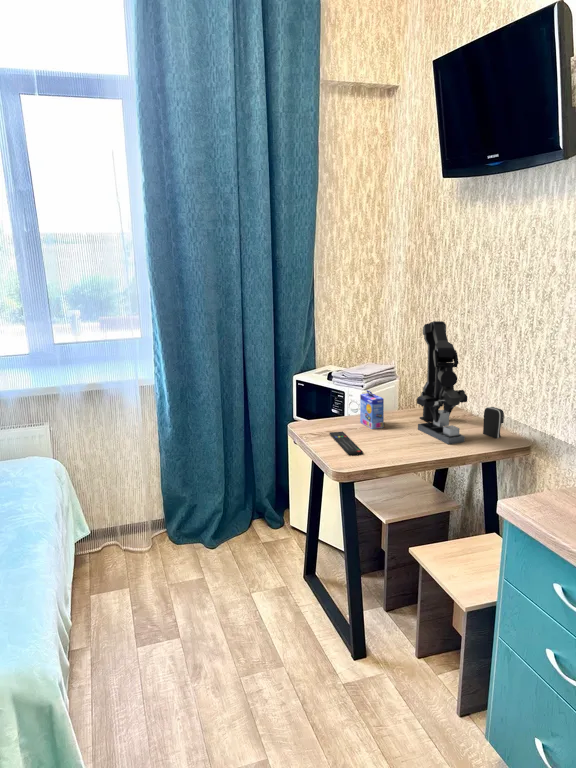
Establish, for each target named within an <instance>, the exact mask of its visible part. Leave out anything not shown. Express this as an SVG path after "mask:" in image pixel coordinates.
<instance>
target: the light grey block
mask: <svg viewBox="0 0 576 768" xmlns="http://www.w3.org/2000/svg"><path fill="white" fill-rule="evenodd" d="M459 434H460V427H457V426H456V425H454V424H453V425H452V424H451V425H449V426H443V435H444V436H446V437H448V438H453V437H459Z"/></svg>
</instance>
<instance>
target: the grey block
mask: <svg viewBox="0 0 576 768" xmlns="http://www.w3.org/2000/svg"><path fill="white" fill-rule="evenodd" d="M433 424H435V425H437V426H439V427H442V426H443V427H444V426H450V416H449V412H447V411H445V410H444V409H439V410H438V422H435V421H434V420H433Z"/></svg>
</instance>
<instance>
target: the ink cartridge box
mask: <svg viewBox="0 0 576 768" xmlns="http://www.w3.org/2000/svg"><path fill="white" fill-rule="evenodd" d="M359 397H360V401H359V402H360V405H359V407H360V409H359V410H360V414H359V417H360V418H359V419H360V421H359V423H360V424H361V425H364V426H366V427H367V428H368V429H371V430H376V429H377V430H378V429H383V428H384V420H385V419H384V417H385V416H384V415H385V414H384V406H385V405H384V400H385V399H384V398H383V397H382V396H379V395H376V394H374V393H373V392H372V391H370V390H368V389H366V393H362V394H360V395H359Z"/></svg>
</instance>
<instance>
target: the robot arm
mask: <svg viewBox="0 0 576 768" xmlns="http://www.w3.org/2000/svg"><path fill="white" fill-rule="evenodd" d="M422 335H423V338H424V341H425V343H426V344H427V370H426V371H427V375H426V377H427V378H426V382H425V383H424V386H423V387H422V392H421V394H420V395H419V396H417V398H416V404H417V405H419V406H420V407H422V408H423V409H422V416H419V419H421V420H422V421H424V422H426V423H429V422H433V420H434V421H435V422H438V410H440V409H441V407H443V410H445V411H447V412H449V417H450V415H451V413H452V411H453V409H454V408H456V406H459V405H460V404H462V403H468V396H467V394H466V391H465V390H464V389H456V390H455V389H454V388H455V385H456V384H457V382H458V376H457V373H455V372H454V368H458V365H459V363H460V362H459V356H458V352H457V350H456V349H455V346H454V344H452V343H451V342H450V341H449V340H448V336H447V324H446V323H445V322H444V321H442V320H440V321H438V320H435V321H434V320H433V321H431V322H430V323H425V324H424V325H423V326H422Z"/></svg>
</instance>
